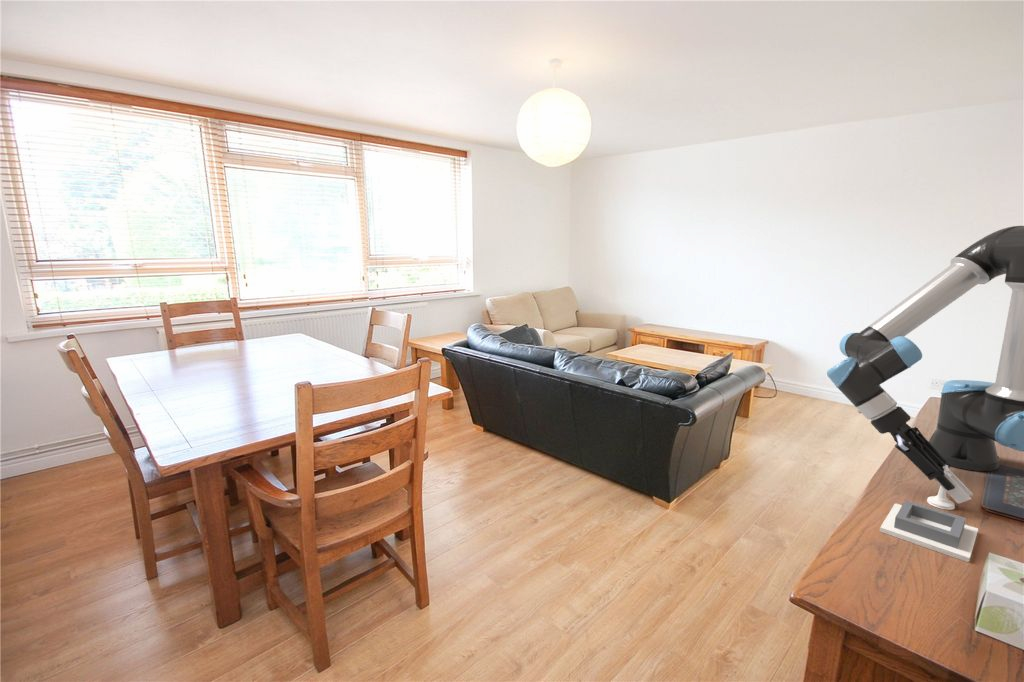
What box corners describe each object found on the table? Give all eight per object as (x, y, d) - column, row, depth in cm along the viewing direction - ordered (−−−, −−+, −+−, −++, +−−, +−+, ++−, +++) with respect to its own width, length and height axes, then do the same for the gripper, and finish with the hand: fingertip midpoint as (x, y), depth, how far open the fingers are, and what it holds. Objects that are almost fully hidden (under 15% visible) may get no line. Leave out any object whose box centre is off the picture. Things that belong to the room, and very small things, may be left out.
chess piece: (947, 500, 111) (953, 462, 109) (959, 511, 106) (966, 471, 104) (922, 497, 112) (928, 459, 111) (933, 508, 108) (939, 469, 106)
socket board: (894, 507, 109) (896, 493, 108) (977, 532, 98) (980, 518, 98) (879, 531, 100) (881, 516, 99) (969, 562, 90) (971, 546, 89)
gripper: (877, 413, 122) (953, 493, 113) (861, 428, 113) (942, 517, 104) (905, 398, 117) (987, 480, 108) (891, 413, 108) (979, 505, 99)
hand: (965, 498), depth 106 cm, fingers closed on chess piece, 2 cm apart
